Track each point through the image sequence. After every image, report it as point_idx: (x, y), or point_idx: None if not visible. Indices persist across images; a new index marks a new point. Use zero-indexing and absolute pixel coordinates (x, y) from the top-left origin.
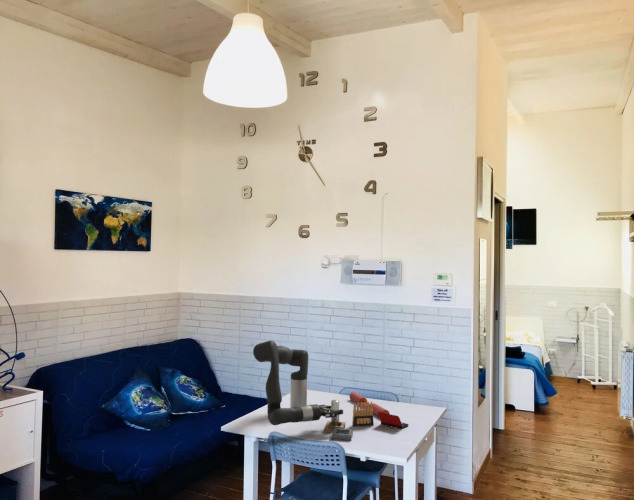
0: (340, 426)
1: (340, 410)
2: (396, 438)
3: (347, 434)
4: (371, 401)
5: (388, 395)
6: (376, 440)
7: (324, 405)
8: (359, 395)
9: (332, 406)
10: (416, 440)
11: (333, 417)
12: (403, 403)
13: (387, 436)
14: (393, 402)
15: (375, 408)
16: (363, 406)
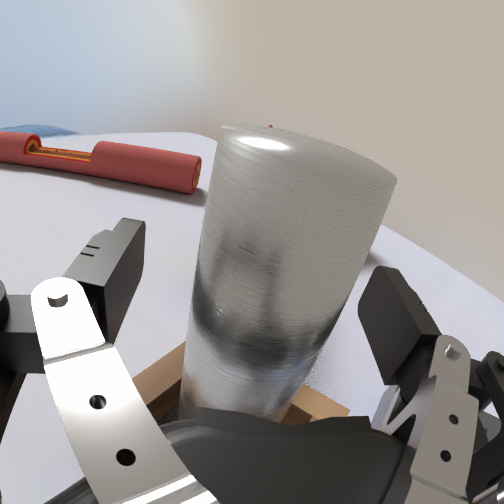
0: (316, 418)
1: (407, 294)
2: (428, 281)
3: (494, 435)
4: (270, 125)
5: (47, 127)
6: (460, 339)
7: (2, 306)
8: (10, 132)
9: (325, 293)
10: (437, 258)
11: (280, 416)
12: (113, 134)
13: None
14: (88, 136)
15: (136, 158)
16: (46, 164)
